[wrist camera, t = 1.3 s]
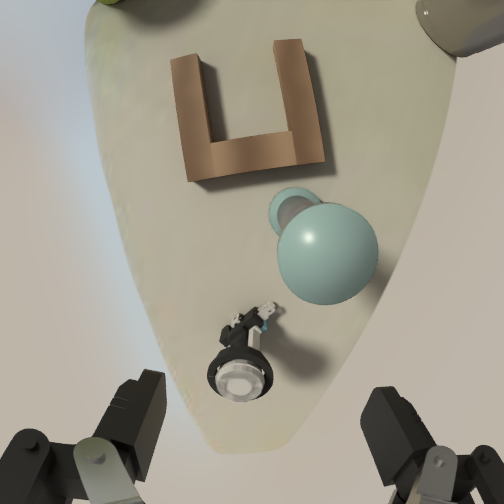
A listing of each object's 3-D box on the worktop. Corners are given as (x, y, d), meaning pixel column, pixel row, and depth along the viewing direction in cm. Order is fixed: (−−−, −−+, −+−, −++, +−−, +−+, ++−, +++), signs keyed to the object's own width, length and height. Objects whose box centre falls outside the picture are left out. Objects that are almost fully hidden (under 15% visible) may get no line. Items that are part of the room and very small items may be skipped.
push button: (255, 283, 29) (253, 338, 19) (290, 317, 30) (301, 379, 20) (210, 322, 30) (191, 383, 21) (244, 352, 31) (239, 417, 22)
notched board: (298, 46, 22) (301, 38, 20) (320, 162, 25) (325, 161, 24) (176, 66, 23) (170, 59, 21) (192, 181, 26) (187, 182, 24)
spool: (318, 183, 26) (375, 199, 13) (323, 235, 27) (378, 295, 14) (265, 190, 26) (271, 212, 13) (272, 242, 28) (284, 312, 14)
